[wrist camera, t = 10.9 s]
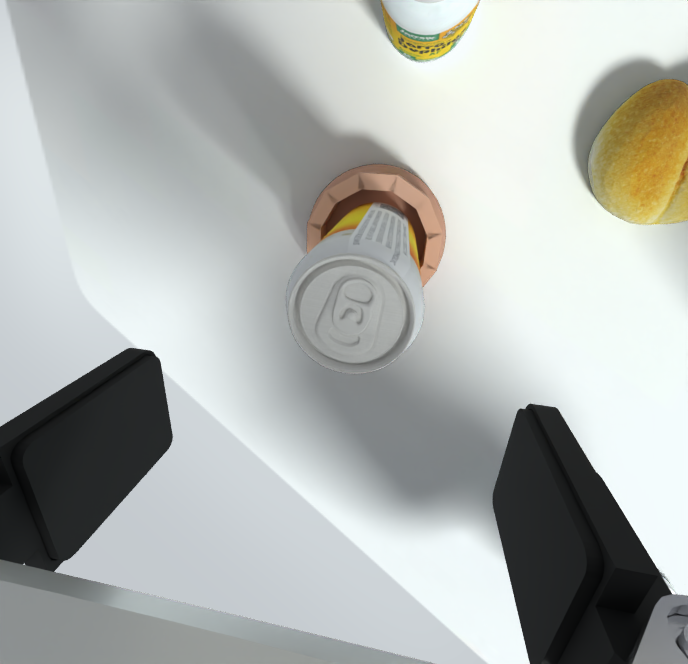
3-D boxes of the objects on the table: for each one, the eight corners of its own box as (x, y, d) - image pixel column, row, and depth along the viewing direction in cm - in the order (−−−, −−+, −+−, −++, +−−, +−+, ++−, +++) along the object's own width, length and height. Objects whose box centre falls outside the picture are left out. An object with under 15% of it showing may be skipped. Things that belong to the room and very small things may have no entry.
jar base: (433, 307, 31) (435, 322, 28) (309, 294, 32) (299, 307, 29) (456, 168, 26) (462, 169, 23) (310, 160, 28) (299, 160, 25)
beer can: (327, 266, 30) (266, 356, 17) (349, 189, 27) (295, 222, 14) (399, 290, 30) (394, 399, 16) (427, 215, 27) (450, 273, 14)
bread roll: (603, 82, 23) (639, 68, 20) (764, 84, 22) (832, 70, 19) (565, 218, 27) (590, 227, 23) (702, 226, 26) (750, 236, 22)
